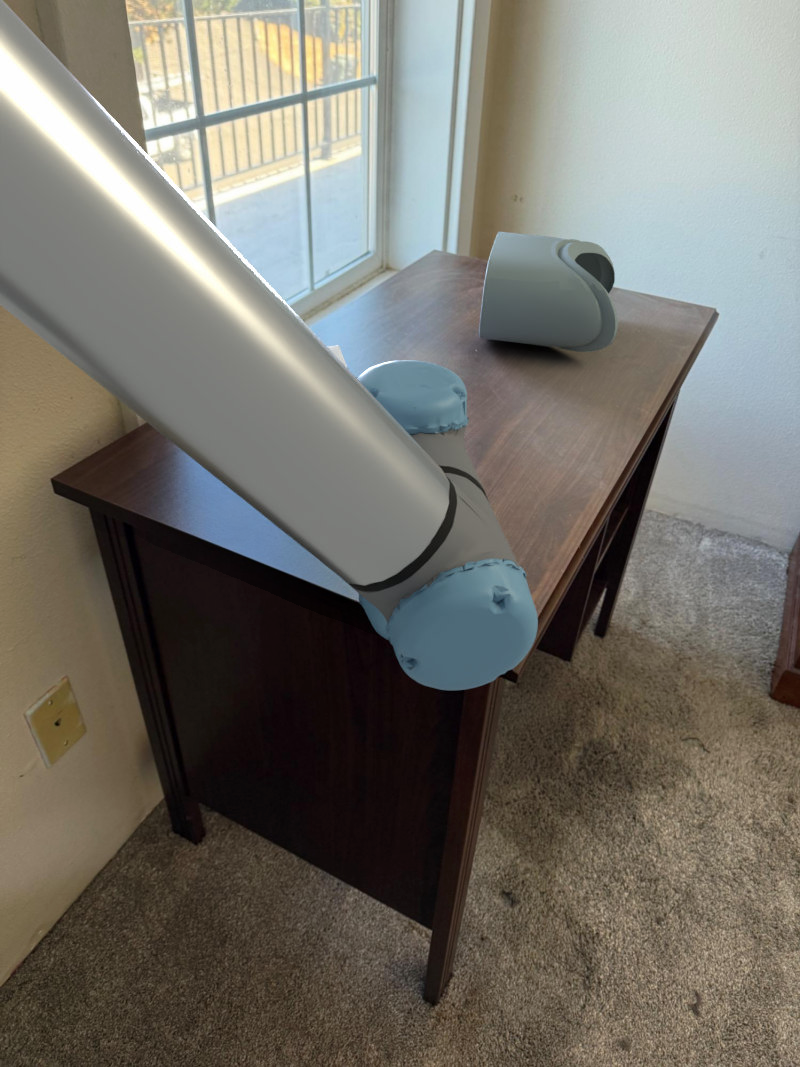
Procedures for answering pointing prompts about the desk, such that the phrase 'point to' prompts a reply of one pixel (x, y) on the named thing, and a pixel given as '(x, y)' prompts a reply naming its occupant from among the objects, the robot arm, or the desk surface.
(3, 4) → the robot arm
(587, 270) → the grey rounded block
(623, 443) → the desk surface
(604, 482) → the desk surface
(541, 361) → the desk surface
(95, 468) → the desk surface
